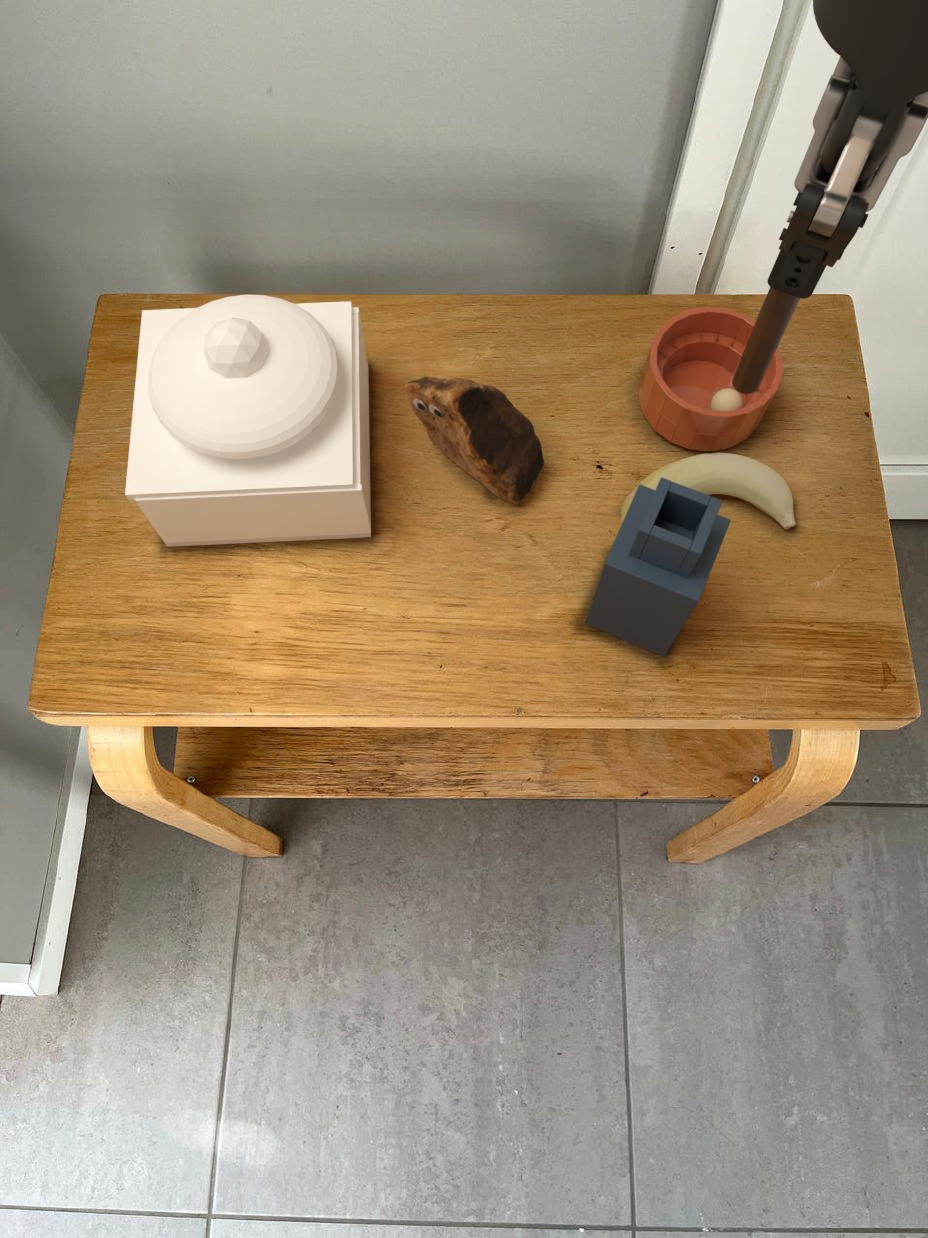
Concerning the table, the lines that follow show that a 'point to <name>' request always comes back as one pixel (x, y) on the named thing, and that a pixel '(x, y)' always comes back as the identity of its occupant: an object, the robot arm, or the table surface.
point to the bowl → (702, 379)
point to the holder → (658, 565)
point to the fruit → (727, 482)
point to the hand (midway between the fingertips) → (796, 270)
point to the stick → (764, 340)
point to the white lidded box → (252, 422)
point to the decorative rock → (479, 433)
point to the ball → (726, 400)
